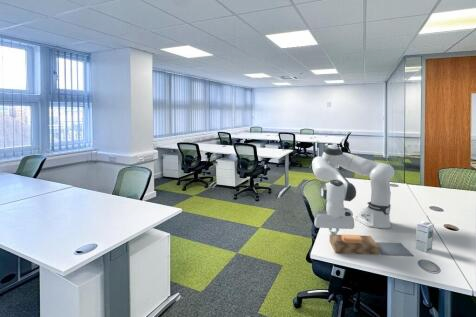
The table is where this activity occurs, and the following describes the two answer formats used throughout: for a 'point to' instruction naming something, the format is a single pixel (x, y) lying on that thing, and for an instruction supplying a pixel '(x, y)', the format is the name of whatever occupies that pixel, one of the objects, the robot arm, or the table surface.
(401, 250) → the mat
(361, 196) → the table surface
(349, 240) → the block
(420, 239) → the syrup box
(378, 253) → the deck
